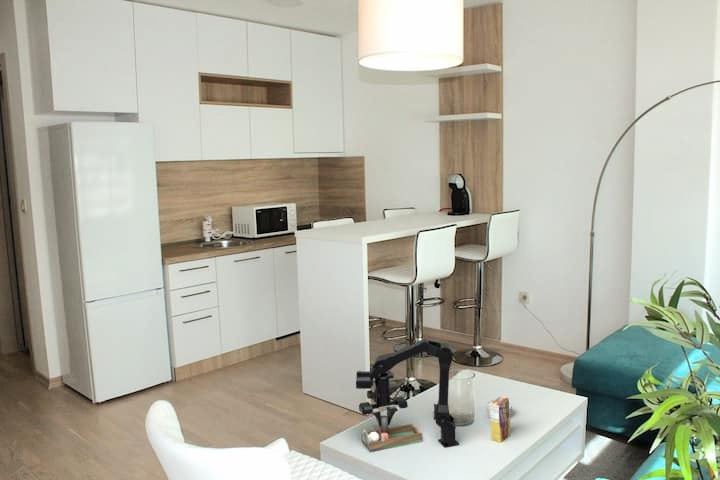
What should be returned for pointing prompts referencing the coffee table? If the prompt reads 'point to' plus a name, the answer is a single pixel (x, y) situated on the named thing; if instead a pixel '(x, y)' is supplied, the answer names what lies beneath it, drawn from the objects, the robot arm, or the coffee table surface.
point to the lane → (392, 437)
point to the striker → (383, 427)
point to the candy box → (500, 419)
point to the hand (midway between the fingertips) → (384, 425)
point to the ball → (374, 436)
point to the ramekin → (489, 408)
